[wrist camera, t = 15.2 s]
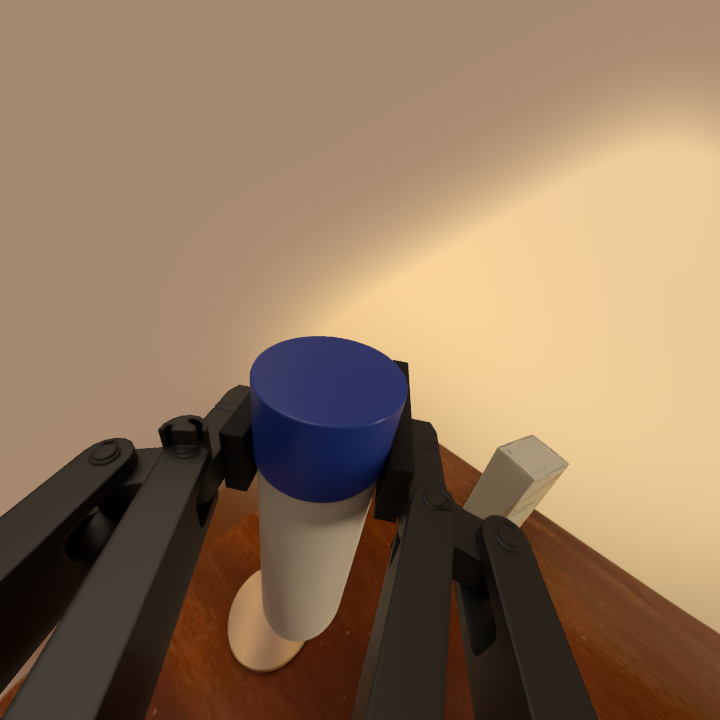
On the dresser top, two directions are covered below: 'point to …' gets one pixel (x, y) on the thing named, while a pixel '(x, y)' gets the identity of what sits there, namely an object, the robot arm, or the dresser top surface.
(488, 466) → the cosmetic box
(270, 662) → the coaster
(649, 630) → the dresser top surface
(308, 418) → the bottle
